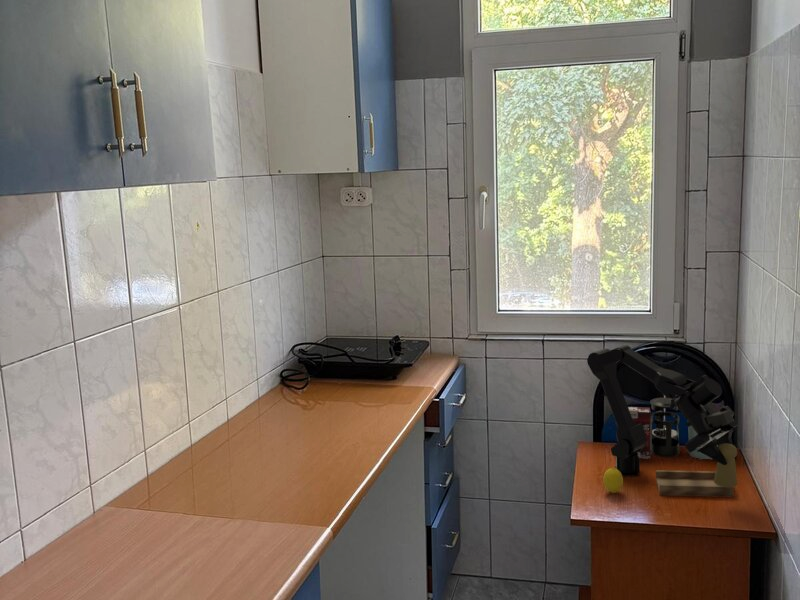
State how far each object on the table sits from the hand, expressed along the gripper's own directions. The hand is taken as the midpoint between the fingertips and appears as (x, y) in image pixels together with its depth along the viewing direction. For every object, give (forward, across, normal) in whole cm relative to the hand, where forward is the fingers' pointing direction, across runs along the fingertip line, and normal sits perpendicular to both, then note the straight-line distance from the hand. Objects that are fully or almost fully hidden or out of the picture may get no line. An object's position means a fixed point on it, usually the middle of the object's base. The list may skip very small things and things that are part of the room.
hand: (731, 461), depth 217 cm
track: (0, +4, +19) cm, 19 cm away
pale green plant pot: (-7, +27, +26) cm, 39 cm away
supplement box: (-17, +13, +37) cm, 43 cm away
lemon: (-10, -15, +29) cm, 34 cm away
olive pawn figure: (+4, 0, +6) cm, 7 cm away
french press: (-14, +22, +34) cm, 43 cm away
